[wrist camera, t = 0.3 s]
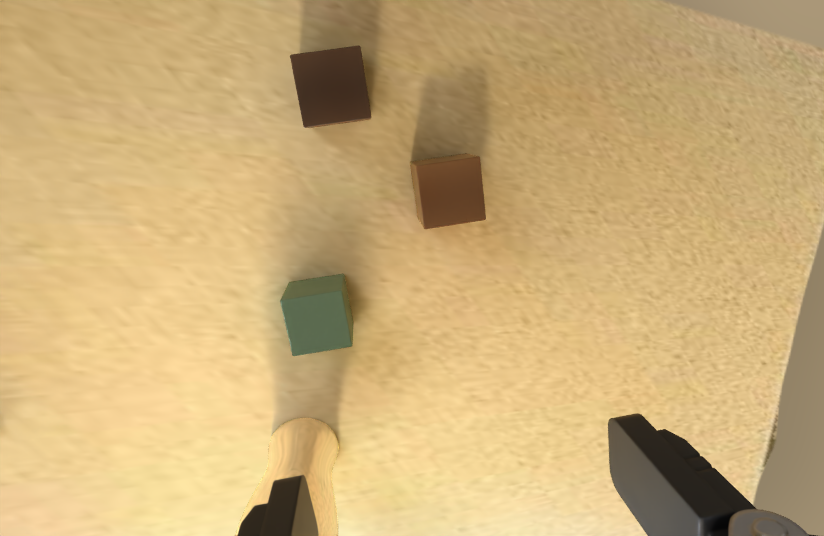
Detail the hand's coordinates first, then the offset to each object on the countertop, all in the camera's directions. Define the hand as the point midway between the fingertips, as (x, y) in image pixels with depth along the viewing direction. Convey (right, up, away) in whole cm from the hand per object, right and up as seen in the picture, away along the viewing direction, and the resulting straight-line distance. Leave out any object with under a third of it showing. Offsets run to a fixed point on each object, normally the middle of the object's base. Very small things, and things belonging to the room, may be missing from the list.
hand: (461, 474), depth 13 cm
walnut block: (-7, +18, +24) cm, 31 cm away
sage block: (-9, +2, +28) cm, 29 cm away
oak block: (+1, +12, +26) cm, 29 cm away
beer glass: (-11, -11, +32) cm, 35 cm away
